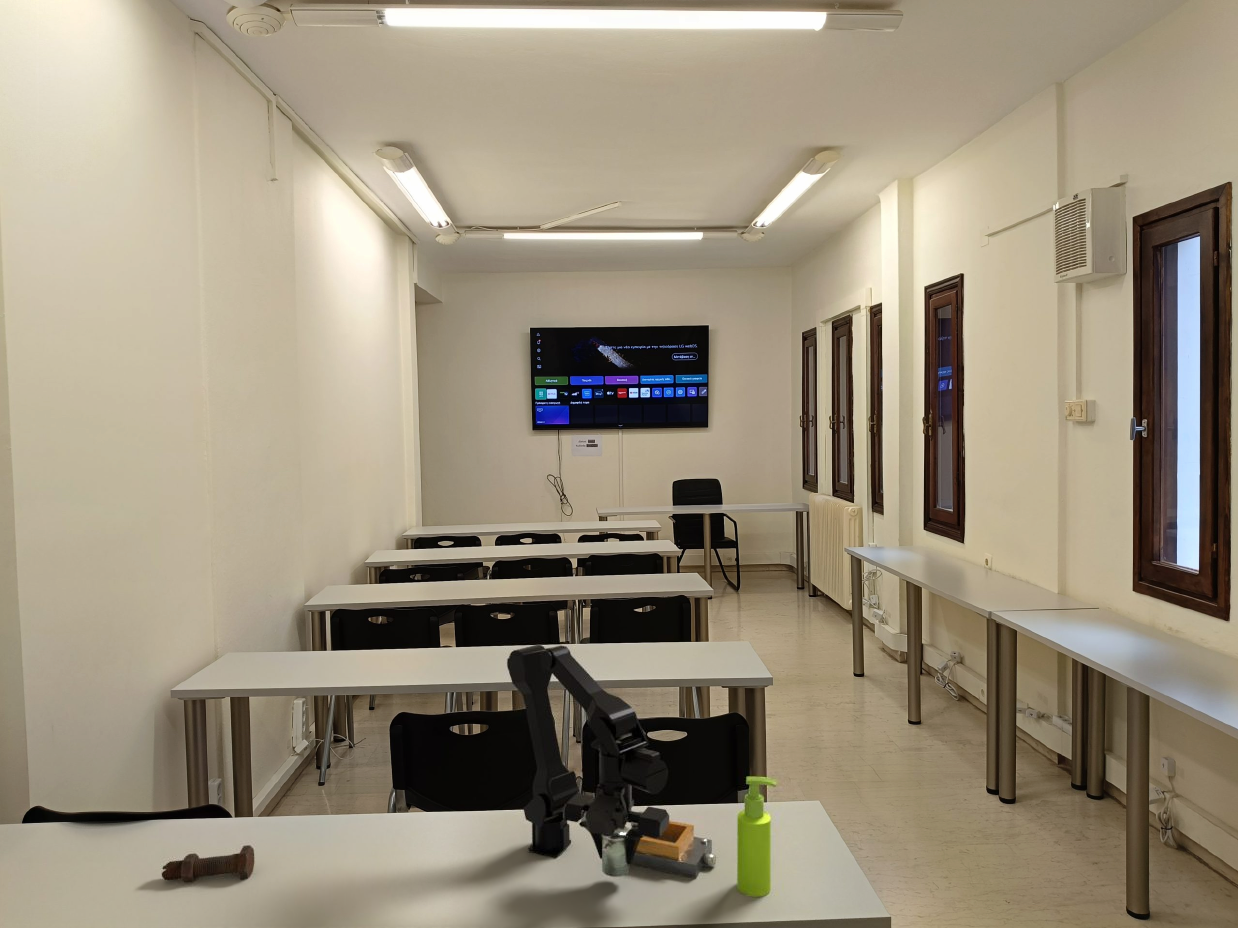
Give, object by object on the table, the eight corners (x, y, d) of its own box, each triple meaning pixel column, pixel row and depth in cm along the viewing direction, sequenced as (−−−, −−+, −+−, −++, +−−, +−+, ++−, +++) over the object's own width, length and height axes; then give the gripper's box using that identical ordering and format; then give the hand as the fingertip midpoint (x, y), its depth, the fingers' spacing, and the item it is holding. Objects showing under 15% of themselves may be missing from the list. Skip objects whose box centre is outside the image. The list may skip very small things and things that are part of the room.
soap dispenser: (776, 899, 148) (776, 786, 147) (736, 894, 149) (736, 783, 148) (776, 881, 154) (777, 773, 153) (738, 877, 155) (738, 770, 154)
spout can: (590, 881, 149) (590, 842, 149) (608, 859, 157) (608, 822, 156) (617, 887, 147) (617, 847, 147) (634, 864, 155) (634, 827, 154)
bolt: (167, 888, 156) (253, 879, 158) (157, 888, 151) (245, 878, 154) (171, 854, 158) (255, 845, 161) (161, 852, 154) (248, 843, 156)
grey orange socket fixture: (615, 860, 161) (615, 835, 161) (634, 837, 170) (634, 812, 170) (706, 880, 154) (706, 853, 154) (721, 854, 163) (721, 829, 163)
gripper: (548, 785, 149) (549, 872, 149) (648, 803, 141) (648, 894, 142) (576, 761, 159) (576, 843, 160) (670, 777, 152) (670, 862, 153)
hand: (615, 860), depth 153 cm, fingers closed on spout can, 5 cm apart
